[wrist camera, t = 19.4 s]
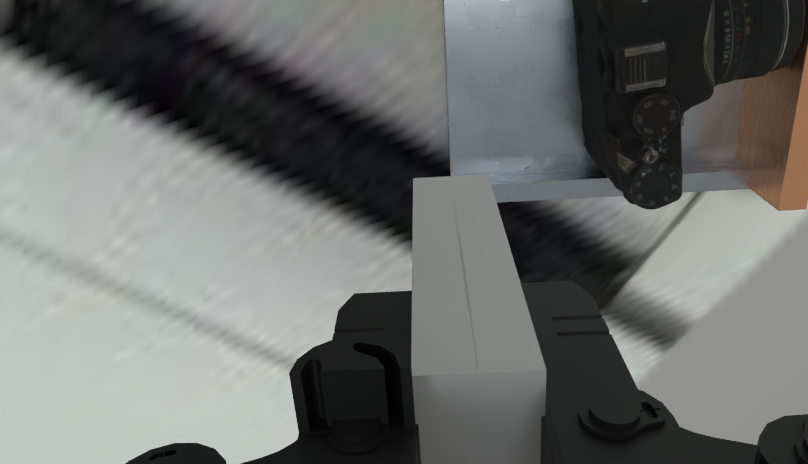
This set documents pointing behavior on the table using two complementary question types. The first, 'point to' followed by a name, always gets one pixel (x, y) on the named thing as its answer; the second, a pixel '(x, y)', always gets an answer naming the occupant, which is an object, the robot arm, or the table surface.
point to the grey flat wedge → (562, 113)
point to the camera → (667, 77)
